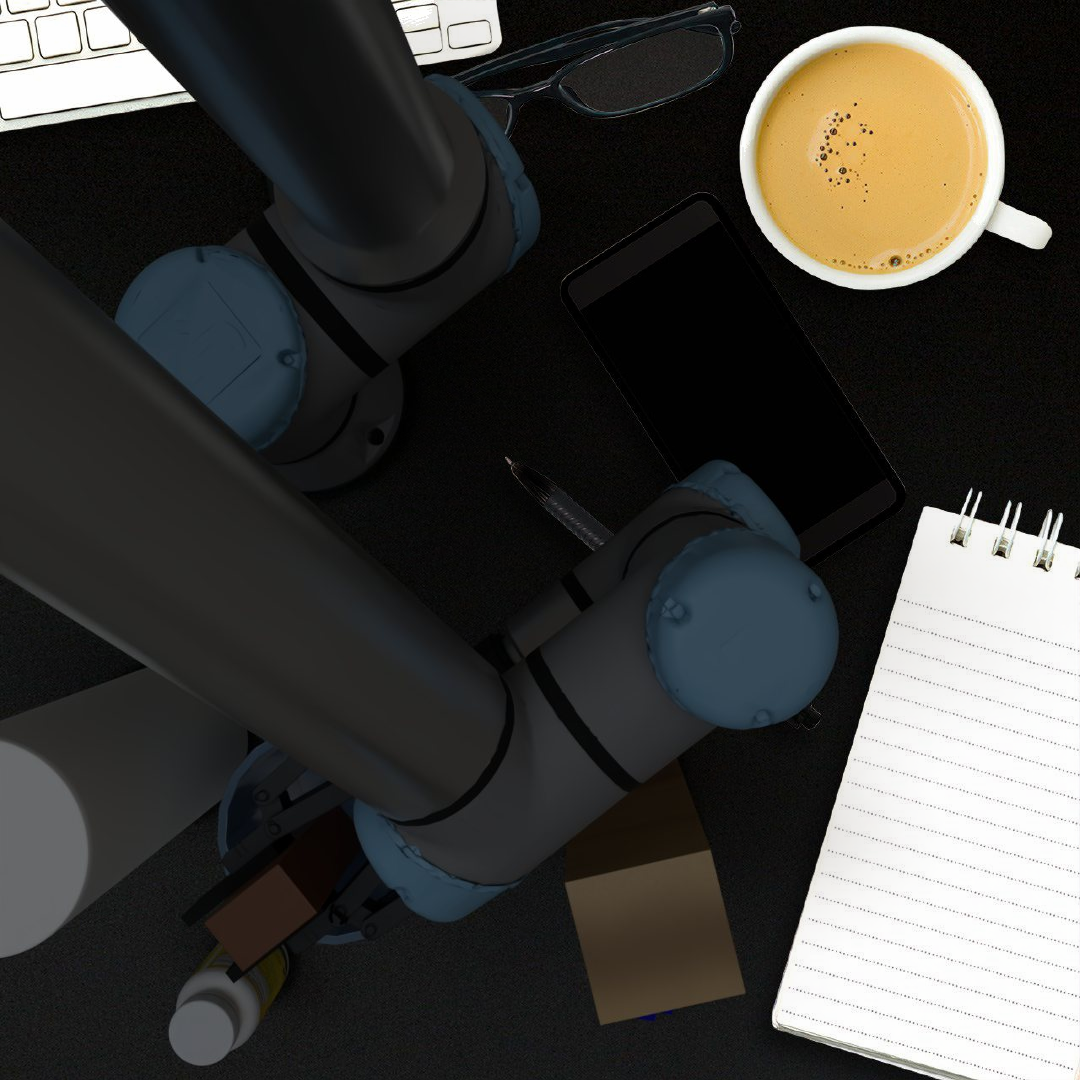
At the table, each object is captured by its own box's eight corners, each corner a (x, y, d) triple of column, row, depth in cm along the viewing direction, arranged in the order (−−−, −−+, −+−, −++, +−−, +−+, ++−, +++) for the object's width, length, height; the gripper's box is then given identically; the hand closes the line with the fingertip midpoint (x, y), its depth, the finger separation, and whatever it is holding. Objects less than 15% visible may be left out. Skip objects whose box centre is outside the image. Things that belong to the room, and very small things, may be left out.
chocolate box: (335, 798, 60) (278, 863, 49) (367, 838, 60) (317, 913, 49) (273, 847, 60) (203, 923, 49) (305, 887, 60) (242, 972, 49)
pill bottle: (235, 1009, 79) (178, 1090, 68) (204, 939, 78) (142, 1010, 67) (303, 980, 78) (257, 1058, 67) (273, 911, 78) (222, 977, 67)
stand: (571, 760, 77) (564, 882, 52) (669, 737, 76) (710, 849, 51) (595, 857, 77) (600, 1025, 52) (693, 834, 76) (746, 994, 51)
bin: (274, 701, 78) (193, 751, 62) (444, 660, 77) (407, 700, 61) (317, 871, 78) (248, 965, 62) (487, 832, 77) (462, 917, 61)
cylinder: (244, 821, 78) (84, 969, 53) (94, 811, 79) (-135, 952, 54) (251, 668, 78) (92, 744, 53) (99, 658, 78) (-129, 729, 53)
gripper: (631, 777, 56) (325, 1017, 58) (457, 561, 57) (155, 805, 58) (638, 818, 49) (286, 1093, 50) (437, 569, 49) (91, 849, 50)
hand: (217, 938), depth 54 cm, fingers closed on chocolate box, 3 cm apart
